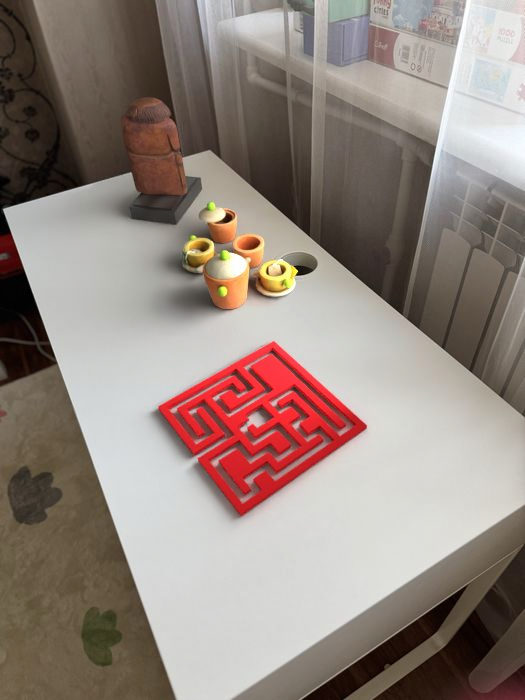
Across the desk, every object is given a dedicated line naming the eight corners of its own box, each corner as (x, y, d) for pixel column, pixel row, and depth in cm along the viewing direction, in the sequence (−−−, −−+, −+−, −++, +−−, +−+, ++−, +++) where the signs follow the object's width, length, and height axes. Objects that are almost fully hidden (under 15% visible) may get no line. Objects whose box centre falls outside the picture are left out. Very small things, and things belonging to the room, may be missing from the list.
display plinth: (131, 218, 108) (127, 205, 106) (160, 184, 117) (157, 171, 115) (176, 224, 106) (174, 211, 104) (202, 189, 115) (200, 176, 113)
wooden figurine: (194, 182, 111) (180, 92, 98) (186, 198, 107) (170, 106, 94) (140, 180, 113) (119, 91, 100) (130, 196, 108) (106, 105, 95)
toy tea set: (308, 291, 90) (308, 243, 83) (226, 327, 85) (219, 279, 78) (233, 221, 106) (228, 175, 99) (161, 247, 101) (151, 202, 94)
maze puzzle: (158, 409, 74) (157, 406, 73) (274, 343, 81) (273, 340, 81) (241, 516, 62) (240, 514, 62) (366, 428, 70) (367, 425, 69)
